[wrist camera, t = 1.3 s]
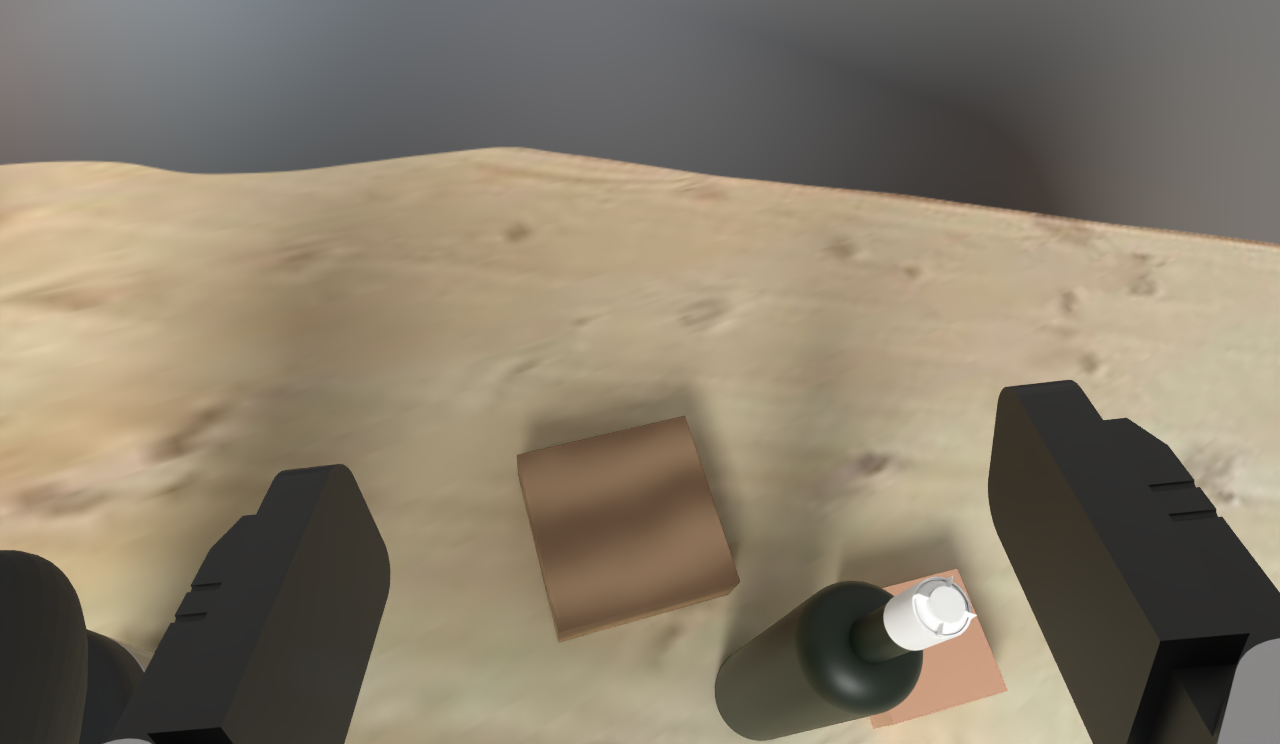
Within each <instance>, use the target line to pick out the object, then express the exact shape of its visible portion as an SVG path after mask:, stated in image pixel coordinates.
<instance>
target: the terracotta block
mask: <svg viewBox="0 0 1280 744" xmlns="http://www.w3.org/2000/svg"><path fill="white" fill-rule="evenodd" d="M951 576H953V579H952V581H953V582H955V583H956V584H958V585H959V586H960V587H961V588H962V589H963V591H964V592H965V593H966V595H967V597H968V599H969V601H970V598H969V596H968V593H967V591H966V588H965V586H964V584H963V581H962V579H961V576H960V574H959V572H958V569H953V570H950V571H946V572H942V573H938V574H934V575H931V576H927V577H923V578H919V579H915V580H911V581H908V582H904V583H900V584H896V585H892V586H888V587H885V588H882V589H884V590H886V591H888V592H889V593H891V594H892V595H893V596H896V595H898V594H900V593H902V592H903V591H905V590H907V589H909V588H910V587H912V586H914V585H916V584H918V583H919V582H921V581H923V580H925V579H927V578H930V577H944V578H949V577H951ZM970 604H971V610H972V613H973V614H975V615H976V613H975V610H974V608H973V605H972V603H971V601H970ZM1005 691H1008V690H1007V688H1006V685H1005V683H1004V680H1003V678H1002V676H1001V673H1000V671H999V668H998V666H997V664H996V661H995V659H994V656H993V654H992V651H991V649H990V647H989V644H988V642H987V639H986V637H985V634H984V632H983V630H982V627H981V625H980V622H979V620H978V618H977V616H975V617H973V618H972V619H971V621H970V624H969V626H968V628H967V629H966V630H965V631H964V632H963V633H962V634H961V635H959V636H957V637H954V638H952V639H949V640H946V641H944V642H941V643H938V644H936V645H933V646H930V647H928V648H925V649H923V664H922V670H921V674H920V677H919V679H918V682H917V684H916V686H915V687H914V689H913V691H912V692H911V693H910V695H909V696H908V697H907V698H906V699H905V700H904V701H903V702H902V703H900V704H899V705H898V706H896V707H894V708H893V709H891V710H889V711H886V712H884V713H880V714H876V715H872V716H869V717H870V720H871V723H872V726H873V728H878V727H883V726H888V725H894V724H897V723H900V722H904V721H907V720H911V719H914V718H917V717H921V716H924V715H927V714H931V713H934V712H938V711H941V710H944V709H948V708H951V707H954V706H958V705H961V704H964V703H968V702H971V701H975V700H978V699H981V698H985V697H988V696H991V695H995V694H998V693H1002V692H1005Z"/></svg>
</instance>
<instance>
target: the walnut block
mask: <svg viewBox="0 0 1280 744" xmlns="http://www.w3.org/2000/svg"><path fill="white" fill-rule="evenodd" d="M517 466H518V476H519V480H520V484H521V488H522V492H523V496H524V501H525V505H526V509H527V513H528V517H529V521H530V525H531V530H532V534H533V538H534V542H535V546H536V550H537V554H538V559H539V563H540V567H541V571H542V575H543V579H544V583H545V588H546V592H547V596H548V600H549V604H550V608H551V612H552V617H553V621H554V625H555V629H556V633H557V637H558V641H559V642H561V641H565V640H568V639H572V638H575V637H579V636H582V635H586V634H590V633H593V632H597V631H600V630H604V629H607V628H611V627H614V626H618V625H621V624H625V623H629V622H632V621H636V620H639V619H643V618H646V617H650V616H653V615H657V614H660V613H664V612H668V611H671V610H675V609H678V608H682V607H685V606H689V605H692V604H696V603H700V602H703V601H707V600H710V599H714V598H717V597H721V596H724V595H728V594H729V593H730V592H731V591H732V590H733V589H734V588H735V587H736V586H737V585H738V583H739V582H740V580H739V577H738V574H737V571H736V568H735V565H734V562H733V559H732V556H731V553H730V550H729V547H728V544H727V541H726V538H725V535H724V532H723V529H722V526H721V523H720V520H719V517H718V514H717V511H716V508H715V505H714V502H713V499H712V496H711V493H710V490H709V487H708V484H707V481H706V478H705V475H704V472H703V469H702V466H701V463H700V460H699V457H698V454H697V451H696V448H695V445H694V442H693V439H692V436H691V433H690V430H689V427H688V424H687V421H686V418H685V416H682V417H678V418H673V419H669V420H665V421H661V422H656V423H652V424H648V425H643V426H639V427H635V428H631V429H626V430H622V431H618V432H613V433H609V434H605V435H601V436H596V437H592V438H588V439H583V440H579V441H575V442H571V443H566V444H562V445H558V446H553V447H549V448H545V449H541V450H536V451H532V452H528V453H524V454H519V455H517Z"/></svg>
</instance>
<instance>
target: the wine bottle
mask: <svg viewBox="0 0 1280 744" xmlns="http://www.w3.org/2000/svg"><path fill="white" fill-rule="evenodd" d="M952 579H953V576H951V577H949V578H944V577H930V578H927V579H925V580H923V581H921V582H919V583H918V584H916V585H914V586H912V587H910V588H909V589H907V590H905V591H903V592H902V593H900V594H898V595H896V596H893V595H892V594H891V593H889V592H888V591H886V590H884V589H882V588H880V587H878V586H875V585H872V584H869V583H865V582H858V581H846V582H839V583H835V584H832V585H830V586H827V587H825V588H823V589H822V590H820V591H818V592H817V593H816V594H814V595H813V596H812V597H810V598H809V599H808V600H806V601H805V602H803V603H802V604H801V605H799V606H798V607H797V608H795V609H794V610H793V611H791V612H790V613H789V614H787V615H786V616H784V617H783V618H782V619H780V620H779V621H778V622H776V623H775V624H774V625H772V626H771V627H770V628H768V629H767V630H765V631H764V632H763V633H761V634H760V635H759V636H757V637H756V638H755V639H753V640H752V641H750V642H749V643H748V644H746V645H745V646H744V647H742V648H741V649H740V650H738V651H737V652H736V653H734V654H733V655H731V656H730V657H729V658H728V659H727V660H726V661H725V662H724V664H723V665H722V667H721V669H720V670H719V673H718V675H717V679H716V684H715V698H716V703H717V707H718V710H719V712H720V714H721V716H722V718H723V719H724V721H725V722H726V723H727V725H728V726H729V727H730V728H731V729H733V730H734V731H735V732H736V733H738V734H739V735H741V736H743V737H746V738H748V739H752V740H758V741H764V740H771V739H775V738H779V737H783V736H787V735H792V734H796V733H800V732H804V731H809V730H813V729H817V728H821V727H826V726H830V725H834V724H838V723H843V722H847V721H851V720H855V719H859V718H864V717H868V716H872V715H876V714H880V713H884V712H886V711H889V710H891V709H893V708H894V707H896V706H898V705H899V704H900V703H902V702H903V701H904V700H905V699H906V698H907V697H908V696H909V695H910V693H911V692H912V691H913V689H914V687H915V686H916V684H917V682H918V679H919V677H920V674H921V670H922V664H923V649H925V648H928V647H930V646H933V645H936V644H938V643H941V642H944V641H946V640H949V639H952V638H954V637H957V636H959V635H961V634H962V633H963V632H964V631H965V630H966V629H967V628H968V626H969V624H970V621H971V619H972V618H973V617H975V616H977V615H975V614H973V613H972V610H971V604H970V601H969V599H968V597H967V595H966V593H965V592H964V591H963V589H962V588H961V587H960V586H959V585H958V584H956V583H955V582H953V581H952Z"/></svg>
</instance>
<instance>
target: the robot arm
mask: <svg viewBox="0 0 1280 744" xmlns="http://www.w3.org/2000/svg"><path fill="white" fill-rule="evenodd" d="M988 497H989V505H990V511H991V515H992V519H993V523H994V526H995V529H996V531H997V534H998V536H999V538H1000V541H1001V543H1002V545H1003V547H1004V549H1005V552H1006V554H1007V556H1008V558H1009V560H1010V563H1011V565H1012V567H1013V569H1014V571H1015V574H1016V576H1017V578H1018V580H1019V582H1020V584H1021V587H1022V589H1023V591H1024V593H1025V595H1026V598H1027V600H1028V602H1029V604H1030V606H1031V609H1032V611H1033V613H1034V615H1035V617H1036V620H1037V622H1038V624H1039V626H1040V628H1041V631H1042V633H1043V635H1044V637H1045V639H1046V641H1047V644H1048V646H1049V648H1050V650H1051V652H1052V655H1053V657H1054V659H1055V661H1056V663H1057V666H1058V668H1059V670H1060V672H1061V674H1062V677H1063V679H1064V681H1065V683H1066V685H1067V688H1068V690H1069V692H1070V694H1071V696H1072V698H1073V701H1074V703H1075V705H1076V707H1077V709H1078V712H1079V714H1080V716H1081V718H1082V720H1083V723H1084V725H1085V727H1086V729H1087V731H1088V734H1089V736H1090V738H1091V740H1092V742H1093V744H1280V592H1279V591H1278V590H1277V588H1276V587H1275V586H1274V585H1273V583H1272V582H1271V581H1270V579H1269V578H1268V577H1267V575H1266V574H1265V573H1264V571H1263V570H1262V569H1261V567H1260V566H1259V565H1258V563H1257V562H1256V561H1255V559H1254V558H1253V557H1252V555H1251V554H1250V553H1249V552H1248V550H1247V549H1246V548H1245V546H1244V545H1243V544H1242V542H1241V541H1240V540H1239V538H1238V537H1237V536H1236V534H1235V533H1234V532H1233V530H1232V529H1231V528H1230V526H1229V525H1228V524H1227V523H1226V521H1225V520H1224V519H1223V517H1218V516H1217V514H1216V508H1215V507H1214V505H1213V504H1212V503H1211V501H1210V500H1209V499H1208V497H1207V496H1206V495H1205V494H1204V492H1203V491H1202V490H1201V488H1200V487H1197V488H1196V487H1195V484H1194V479H1193V478H1192V476H1191V475H1190V474H1189V472H1188V471H1187V470H1186V468H1185V467H1184V466H1183V465H1182V463H1181V462H1180V461H1179V459H1178V458H1177V457H1176V455H1175V454H1174V453H1173V451H1172V450H1171V449H1170V447H1169V446H1168V445H1167V444H1165V443H1164V442H1162V441H1161V440H1159V439H1158V438H1156V437H1155V436H1153V435H1152V434H1150V433H1149V432H1147V431H1146V430H1144V429H1143V428H1141V427H1140V426H1138V425H1137V424H1135V423H1134V422H1132V421H1131V420H1129V419H1128V418H1120V419H1111V420H1103V419H1102V418H1101V416H1100V415H1099V413H1098V412H1097V411H1096V409H1095V408H1094V406H1093V405H1092V403H1091V402H1090V400H1089V399H1088V398H1087V396H1086V395H1085V393H1084V392H1083V390H1082V389H1081V388H1080V386H1079V385H1078V384H1077V383H1076V382H1074V381H1072V380H1063V381H1054V382H1045V383H1036V384H1028V385H1019V386H1010V387H1005V388H1003V389H1002V391H1001V393H1000V395H999V399H998V405H997V413H996V421H995V429H994V437H993V446H992V454H991V462H990V470H989V478H988ZM191 587H192V590H191V592H188V593H187V594H186V595H185V597H184V599H183V601H182V603H181V605H180V607H179V608H178V610H177V612H176V614H175V617H176V620H175V623H170V625H169V627H168V629H167V631H166V633H165V635H164V637H163V638H162V640H161V642H160V644H159V646H158V648H157V650H156V651H155V653H151V652H149V651H146V650H143V649H140V648H137V647H134V646H132V645H129V644H126V643H123V642H120V641H117V640H115V639H112V638H109V637H106V636H104V635H101V634H98V633H96V632H93V631H90V630H87V629H86V626H85V621H84V616H83V612H82V608H81V604H80V601H79V598H78V596H77V593H76V591H75V589H74V588H73V586H72V584H71V583H70V581H69V579H68V578H67V577H66V575H65V574H64V573H63V572H62V571H61V570H60V569H59V568H58V567H57V566H55V565H54V564H53V563H52V562H50V561H48V560H46V559H44V558H42V557H40V556H38V555H34V554H30V553H26V552H22V551H15V550H0V744H344V743H345V739H346V736H347V733H348V729H349V726H350V722H351V719H352V716H353V712H354V709H355V705H356V702H357V699H358V695H359V692H360V689H361V685H362V682H363V678H364V675H365V672H366V668H367V665H368V661H369V658H370V655H371V651H372V648H373V645H374V641H375V638H376V634H377V631H378V628H379V624H380V621H381V618H382V614H383V611H384V607H385V604H386V601H387V597H388V593H389V587H390V563H389V557H388V553H387V549H386V546H385V544H384V541H383V539H382V537H381V535H380V533H379V531H378V528H377V526H376V524H375V522H374V520H373V517H372V515H371V513H370V511H369V509H368V506H367V504H366V502H365V500H364V498H363V496H362V493H361V491H360V489H359V487H358V485H357V482H356V480H355V478H354V476H353V474H352V472H351V471H350V470H349V468H347V467H346V466H345V465H343V464H336V465H327V466H318V467H309V468H300V469H291V470H284V471H281V472H280V473H278V475H277V476H276V477H275V478H274V480H273V482H272V484H271V486H270V488H269V490H268V492H267V494H266V496H265V498H264V500H263V502H262V504H261V506H260V508H259V510H258V512H257V514H256V515H247V516H242V517H241V518H240V519H239V520H238V521H237V522H236V524H235V525H234V526H233V527H232V528H231V529H230V530H229V531H228V532H227V533H226V534H225V535H224V536H223V537H222V538H221V539H220V540H219V541H218V542H217V543H216V544H215V545H214V546H213V547H212V548H211V549H210V550H209V552H208V554H207V556H206V558H205V560H204V562H203V564H202V565H201V567H200V569H199V571H198V573H197V575H196V577H195V579H194V580H193V582H192V584H191Z"/></svg>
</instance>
